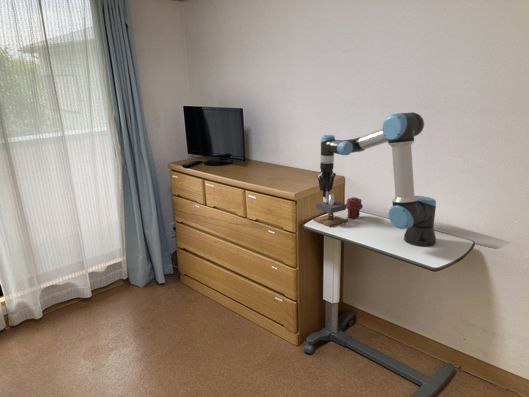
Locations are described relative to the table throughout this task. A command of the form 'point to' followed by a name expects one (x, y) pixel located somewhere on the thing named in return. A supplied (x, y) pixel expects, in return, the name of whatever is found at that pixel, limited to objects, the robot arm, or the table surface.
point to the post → (331, 203)
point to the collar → (331, 207)
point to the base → (330, 223)
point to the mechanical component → (354, 207)
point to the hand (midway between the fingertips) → (325, 201)
